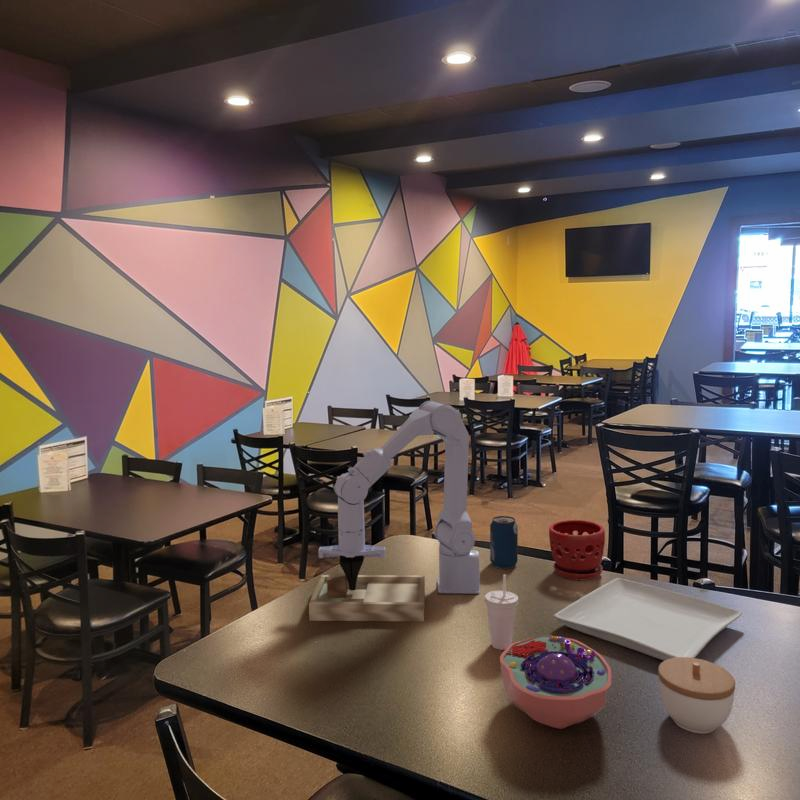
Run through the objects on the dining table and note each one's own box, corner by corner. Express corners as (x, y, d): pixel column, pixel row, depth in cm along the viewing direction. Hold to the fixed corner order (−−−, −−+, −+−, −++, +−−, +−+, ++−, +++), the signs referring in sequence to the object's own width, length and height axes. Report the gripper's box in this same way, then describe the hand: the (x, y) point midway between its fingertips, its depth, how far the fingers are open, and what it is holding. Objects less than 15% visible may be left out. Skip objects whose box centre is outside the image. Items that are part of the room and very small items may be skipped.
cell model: (604, 684, 112) (606, 621, 111) (615, 759, 93) (617, 683, 92) (504, 674, 116) (504, 612, 115) (494, 744, 97) (494, 671, 96)
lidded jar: (728, 708, 105) (730, 652, 104) (738, 749, 95) (741, 687, 94) (655, 697, 108) (657, 642, 107) (658, 735, 98) (660, 676, 97)
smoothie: (517, 654, 123) (518, 582, 122) (483, 651, 124) (483, 580, 123) (518, 638, 129) (519, 569, 128) (485, 636, 131) (485, 567, 129)
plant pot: (573, 560, 171) (574, 515, 170) (615, 576, 161) (616, 528, 159) (537, 571, 164) (537, 524, 163) (578, 588, 153) (579, 538, 152)
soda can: (522, 564, 169) (523, 518, 168) (507, 571, 164) (507, 524, 163) (500, 558, 174) (500, 513, 173) (484, 565, 169) (484, 519, 168)
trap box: (424, 590, 153) (424, 575, 153) (423, 621, 138) (423, 604, 137) (322, 590, 155) (321, 575, 154) (309, 620, 139) (308, 603, 138)
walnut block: (347, 590, 148) (347, 573, 147) (345, 597, 144) (345, 580, 143) (330, 590, 148) (329, 573, 148) (327, 597, 144) (327, 580, 144)
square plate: (616, 591, 152) (616, 575, 152) (743, 628, 133) (744, 610, 133) (551, 630, 134) (551, 611, 133) (688, 680, 114) (688, 658, 114)
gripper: (315, 534, 141) (317, 595, 142) (383, 534, 140) (384, 596, 141) (320, 524, 148) (322, 583, 149) (385, 524, 147) (386, 583, 148)
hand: (352, 588), depth 146 cm, fingers closed
